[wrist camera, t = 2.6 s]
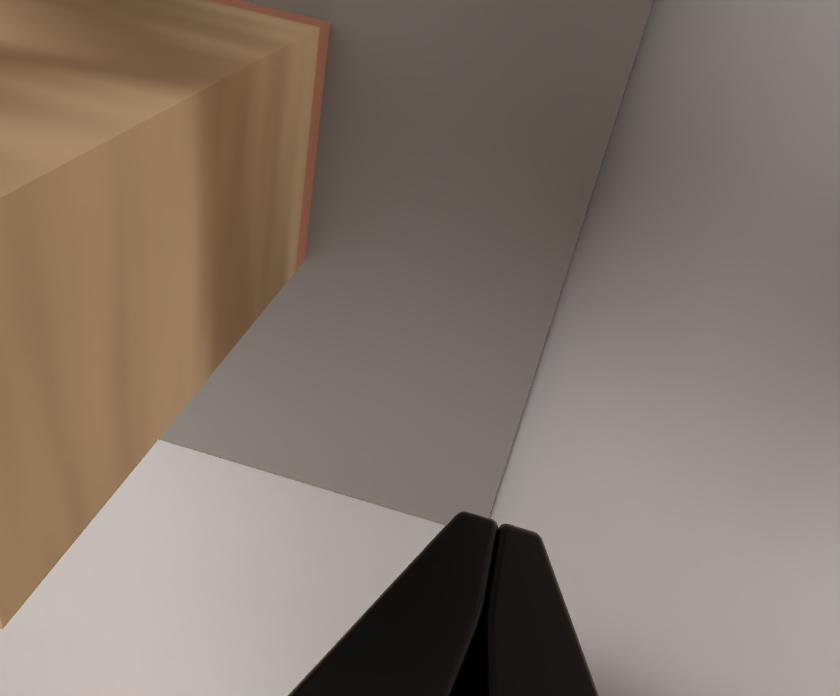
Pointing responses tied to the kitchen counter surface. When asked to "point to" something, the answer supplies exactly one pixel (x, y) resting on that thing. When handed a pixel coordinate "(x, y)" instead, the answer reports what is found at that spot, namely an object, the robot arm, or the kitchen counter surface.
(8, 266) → the maple block
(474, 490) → the rubber mat
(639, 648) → the kitchen counter surface
